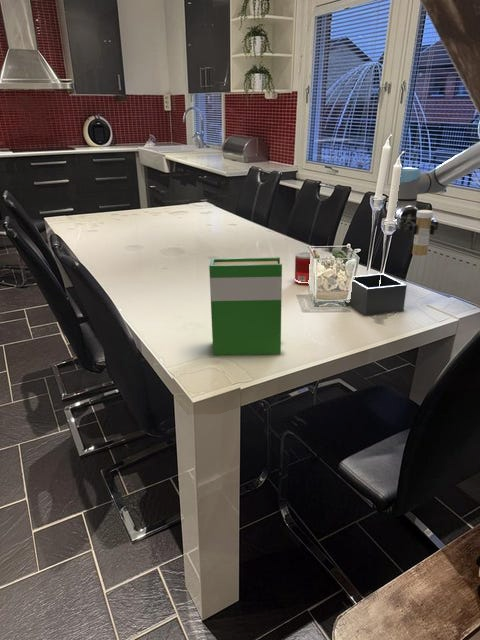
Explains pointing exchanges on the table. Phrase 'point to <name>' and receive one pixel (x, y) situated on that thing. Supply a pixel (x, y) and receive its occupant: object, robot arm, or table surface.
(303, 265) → the canned food
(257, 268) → the hardback book
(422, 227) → the sprinkles bottle
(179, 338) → the table surface
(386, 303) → the black open box
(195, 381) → the table surface
